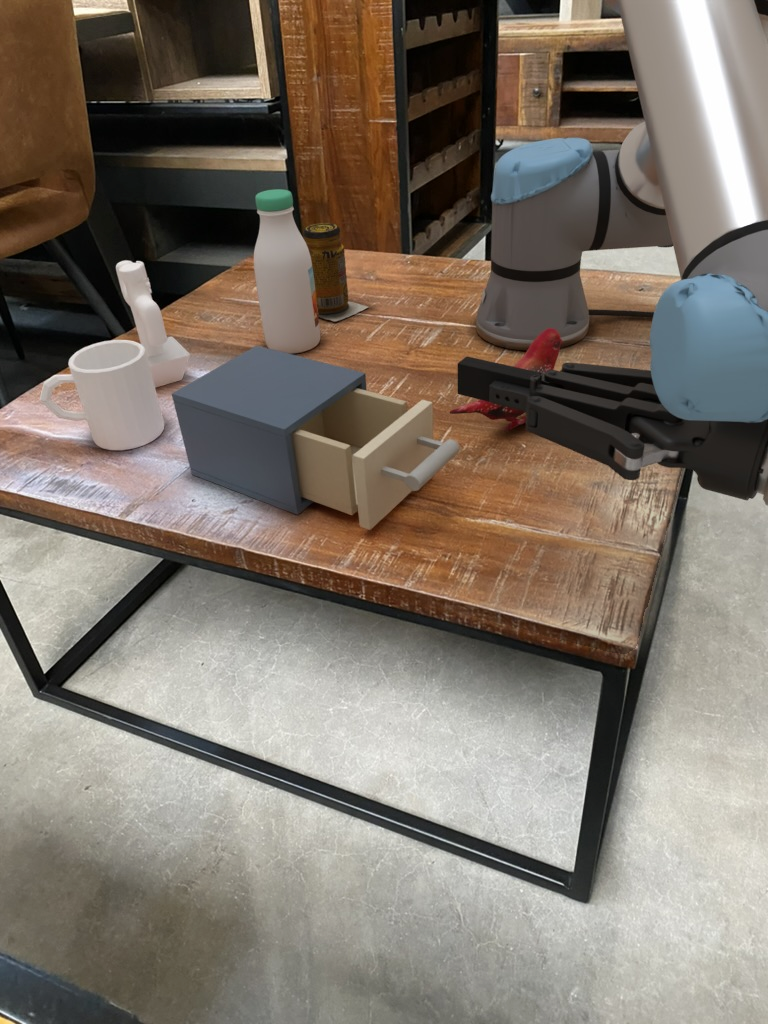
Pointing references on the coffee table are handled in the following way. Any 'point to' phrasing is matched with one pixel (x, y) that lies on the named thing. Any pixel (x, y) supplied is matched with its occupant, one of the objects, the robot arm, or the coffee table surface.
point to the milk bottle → (284, 277)
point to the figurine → (151, 325)
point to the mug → (112, 394)
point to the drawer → (368, 454)
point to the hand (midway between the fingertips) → (462, 375)
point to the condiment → (329, 272)
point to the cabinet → (257, 420)
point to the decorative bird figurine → (535, 359)
